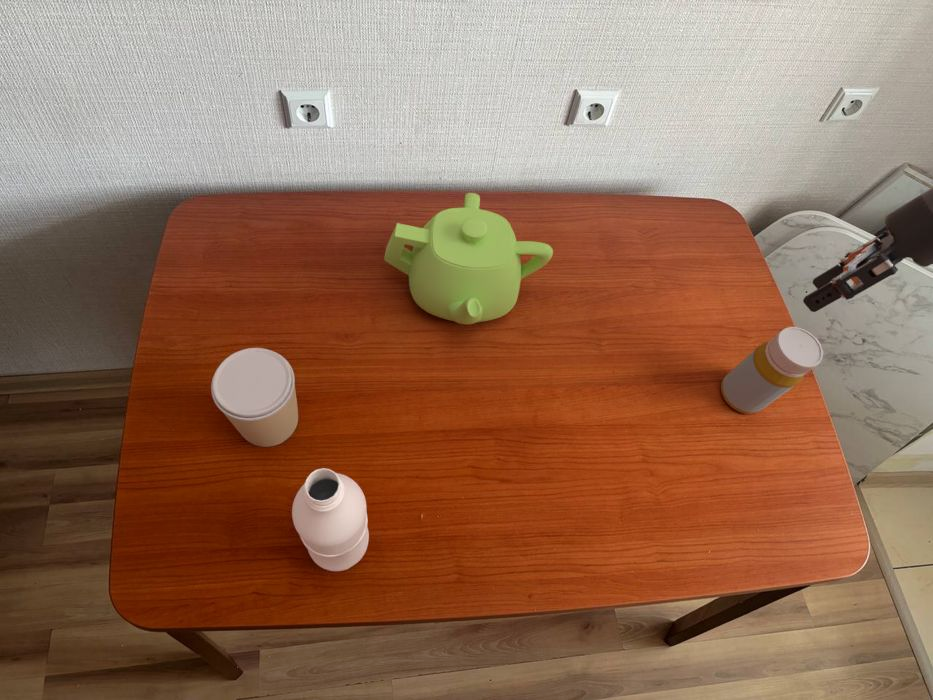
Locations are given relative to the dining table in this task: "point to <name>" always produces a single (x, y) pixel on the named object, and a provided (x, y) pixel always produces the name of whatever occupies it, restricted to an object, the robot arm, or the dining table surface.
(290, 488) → the dining table surface
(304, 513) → the water bottle
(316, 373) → the dining table surface
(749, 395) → the bottle
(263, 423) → the coffee cup
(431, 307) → the teapot
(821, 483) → the dining table surface
